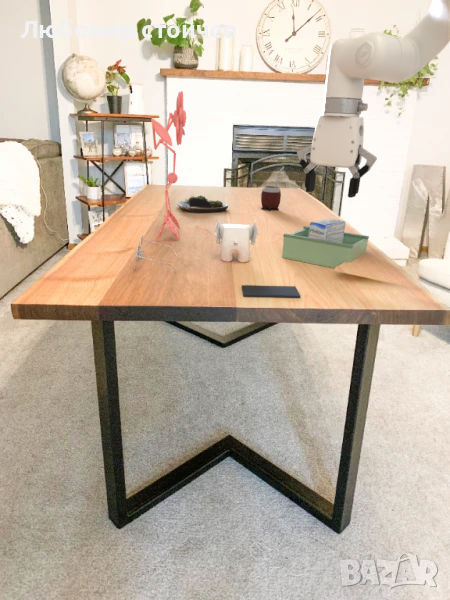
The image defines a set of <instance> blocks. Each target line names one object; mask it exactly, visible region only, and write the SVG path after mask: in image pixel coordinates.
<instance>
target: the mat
mask: <svg viewBox="0 0 450 600" xmlns="http://www.w3.org/2000/svg"><path fill="white" fill-rule="evenodd" d="M241 291H242V295H243V298H281V299H282V298H284V299H285V298H286V299H287V298H291V299H300V298H301V294H300V292H299V291H298V289H297V287H296V286H295V285H291V286H290V285H257V284H255V285H254V284H253V285H251V284H250V285H249V284H241Z"/></svg>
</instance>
